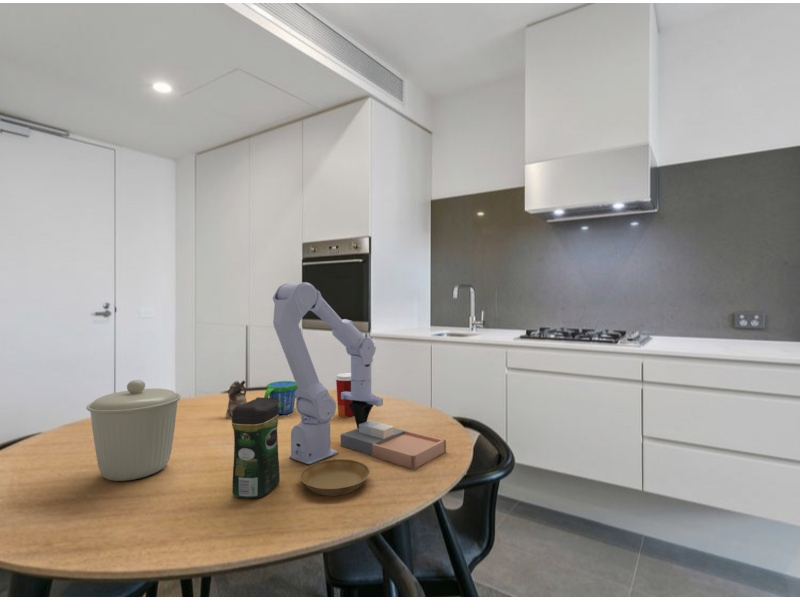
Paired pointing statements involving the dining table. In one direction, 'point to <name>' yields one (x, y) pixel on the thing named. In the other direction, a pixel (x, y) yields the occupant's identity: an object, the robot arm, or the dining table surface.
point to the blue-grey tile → (367, 427)
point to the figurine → (235, 397)
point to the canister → (133, 431)
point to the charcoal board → (364, 440)
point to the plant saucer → (335, 476)
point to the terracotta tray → (410, 449)
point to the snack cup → (282, 395)
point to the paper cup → (343, 385)
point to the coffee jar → (255, 448)
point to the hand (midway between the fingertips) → (361, 428)
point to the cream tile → (382, 431)
